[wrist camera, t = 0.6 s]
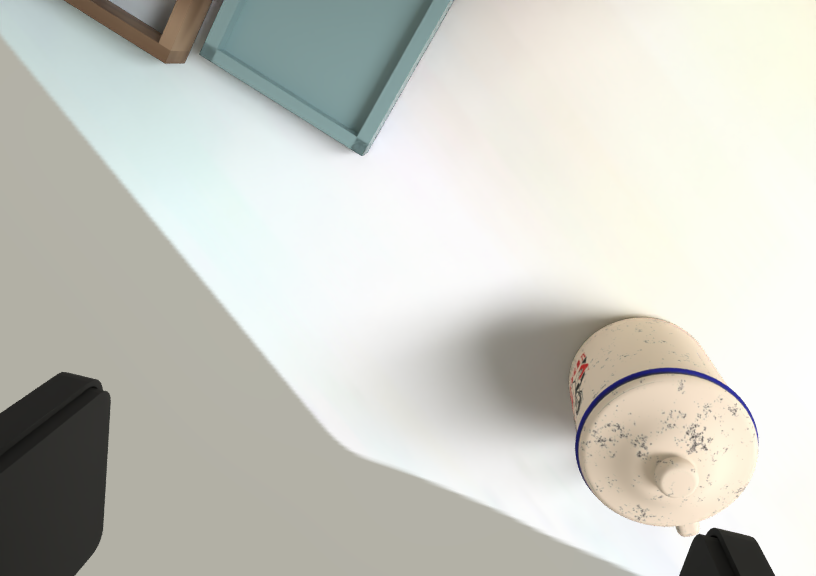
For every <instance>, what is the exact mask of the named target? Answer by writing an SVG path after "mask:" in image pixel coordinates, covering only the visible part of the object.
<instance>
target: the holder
mask: <svg viewBox="0 0 816 576" xmlns="http://www.w3.org/2000/svg"><path fill="white" fill-rule="evenodd" d="M64 1H66V2H67V3H69V4H70V5H72V6H74V7H75V8H77V9H79V10H80V11H82V12H83V13H85V14H87V15H88V16H90V17H91V18H93V19H95V20H96V21H98V22H99V23H101V24H103V25H104V26H106V27H107V28H109V29H111V30H112V31H114V32H115V33H117V34H119V35H120V36H122V37H123V38H125V39H127V40H128V41H130V42H131V43H133V44H135V45H136V46H138V47H139V48H141V49H143V50H144V51H146V52H147V53H149V54H151V55H152V56H154V57H155V58H157V59H159V60H160V61H162V62H163V63H165V64H170V63H185V61H186V59H187V57H188V54H189V52H190V50H191V48H192V45H193V43H194V41H195V39H196V36H197V34H198V32H199V30H200V28H201V25H202V23H203V21H204V19H205V16H206V14H207V12H208V10H209V7H210V5H211V3H212V1H213V0H177V1H176V3H175V6H174V8H173V10H172V13H171V15H170V17H169V20H168V22H167V24H166V27H165V29H164V31H163V34H161V33H160V32H158V31H156V30H155V29H153V28H152V27H150V26H148V25H147V24H145V23H144V22H142V21H140V20H139V19H137V18H136V17H134V16H133V15H131V14H129V13H128V12H126V11H125V10H123V9H121V8H120V7H118V6H117V5H115V4H113V3H112V2H110V1H109V0H64Z"/></svg>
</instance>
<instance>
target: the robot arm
mask: <svg viewBox="0 0 816 576" xmlns="http://www.w3.org/2000/svg"><path fill="white" fill-rule="evenodd" d="M110 401H111V400H110V395H109V393H108V392H107V391H103V389H102V385H101V383H100V381H99V380H96V379H92V378H88V377H84V376H80V375H76V374H71V373H67V372H61V373H59V374H57V375H56V376H54V377H53V378H51V379H50V380H48V381H47V382H46V383H44V384H43V385H41V386H40V387H38V388H37V389H35V390H34V391H32V392H31V393H29V394H28V395H26V396H25V397H23V398H22V399H21V400H19V401H18V402H16V403H15V404H13V405H12V406H10V407H9V408H7V409H6V410H5V411H3V412H1V413H0V576H74V575H76V573H77V572H78V571H79V570H80V568H81V567H82V566H83V565H84V564H85V563H86V562H87V560H88V559H89V558H90V557H91V556H92V554H93V553H94V552H95V550H96V548H97V546H98V544H99V542H100V539H101V536H102V531H103V520H104V519H103V518H104V504H105V487H106V471H107V454H108V436H109V420H110V403H111V402H110ZM679 576H775V575H774V573H773V571H772V569H771V567H770V565H769V563H768V561H767V560H766V558H765V556H764V554H763V552H762V550H761V548H760V546H759V545H758V543H757V541H756V540H755V539H754V538H753V537H751V536H747V535H743V534H739V533H735V532H730V531H726V530H722V529H718V528H712V529H710V530H709V531H708V532H707V534H706V535H701V534H698V535H696V537H695V538H694V539H693V541H692V544H691V546H690V549H689V552H688V554H687V557H686V559H685V562H684V565H683V567H682V570H681V572H680V575H679Z"/></svg>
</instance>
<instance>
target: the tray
mask: <svg viewBox="0 0 816 576" xmlns="http://www.w3.org/2000/svg"><path fill="white" fill-rule="evenodd" d="M453 1H454V0H224V1H223V3H222V5H221V7H220V10H219V12H218V14H217V16H216V18H215V21H214V23H213V25H212V27H211V30H210V32H209V34H208V36H207V38H206V41H205V43H204V45H203V47H202V49H201V52H200V54H199V55H201V56H203V57H204V58H206V59H207V60H209V61H211V62H212V63H214V64H215V65H217V66H219V67H220V68H222V69H223V70H225V71H227V72H228V73H230V74H231V75H233V76H235V77H236V78H238V79H239V80H241V81H243V82H244V83H246V84H247V85H249V86H251V87H252V88H254V89H255V90H257V91H259V92H260V93H262V94H263V95H265V96H267V97H268V98H270V99H271V100H273V101H275V102H276V103H278V104H279V105H281V106H283V107H284V108H286V109H287V110H289V111H291V112H292V113H294V114H295V115H297V116H299V117H300V118H302V119H303V120H305V121H307V122H308V123H310V124H311V125H313V126H315V127H316V128H318V129H319V130H321V131H322V132H324V133H326V134H327V135H329V136H330V137H332V138H334V139H335V140H337V141H338V142H340V143H342V144H343V145H345V146H346V147H348V148H350V149H351V150H353V151H354V152H356V153H358V154H359V155H361V156H363V155H365V154H366V153H368V151H369V149H370V147H371V145H372V144H373V142H374V140H375V138H376V137H377V135H378V133H379V131H380V130H381V128H382V126H383V124H384V123H385V121H386V119H387V117H388V116H389V114H390V112H391V110H392V109H393V107H394V105H395V103H396V102H397V100H398V98H399V96H400V95H401V93H402V91H403V89H404V88H405V86H406V84H407V82H408V80H409V79H410V77H411V75H412V73H413V72H414V70H415V68H416V66H417V65H418V63H419V61H420V59H421V58H422V56H423V54H424V52H425V51H426V49H427V47H428V45H429V44H430V42H431V40H432V38H433V37H434V35H435V33H436V31H437V30H438V28H439V26H440V24H441V23H442V21H443V19H444V17H445V16H446V14H447V12H448V10H449V8H450V7H451V5H452V3H453Z"/></svg>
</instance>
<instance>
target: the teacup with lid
mask: <svg viewBox="0 0 816 576" xmlns="http://www.w3.org/2000/svg"><path fill="white" fill-rule="evenodd" d="M569 391H570V397H571V403H572V409H573V415H574V421H575V426H576V432H577V434H576V442H575V453H576V460H577V464H578V468H579V471H580V473H581V475H582V478H583V479H584V481H585V483H586V485H587V486H588V487H589V489H590V490H591V491H592V493H593V494H594V495H595V496H596V497H597V498H598V499H599V500H600V501H601V502H602V503H603V504H604V505H606V506H607V507H608V508H609V509H611V510H613V511H614V512H616V513H617V514H619V515H621V516H623V517H625V518H628V519H630V520H633V521H636V522H639V523H643V524H647V525H653V526H664V527H668V526H676V529H677V532H678V533H679V534H680V535H681V536H683V537H688V536H693V535H696V534H698V532H699V530H700V526H699V521H702V520H705V519H707V518H709V517H712V516H714V515H715V514H717V513H719V512H721V511H722V510H724V509H725V508H727V507H728V506H729V505H730V504H731V503H733V502H734V501H735V500H736V499H737V498H738V497H739V495H740V494H741V493H742V492H743V491H744V489H745V488H746V486H747V485H748V483H749V481H750V479H751V477H752V475H753V473H754V470H755V467H756V463H757V458H758V443H759V442H758V433H757V428H756V425H755V422H754V419H753V417H752V415H751V413H750V411H749V409H748V408H747V406H746V404H745V403H744V402H743V401H742V399H741V398H740V397H739V396H738V395H737V394H736V393H735V392H734V391H733V390H732V389H730V388H729V387H728V386H727V385H726V383H725V382H724V380H723V379H722V377H721V376H720V374H719V373H718V371H717V370H716V368H715V366H714V365H713V363H712V362H711V360H710V359H709V357H708V356H707V354H706V353H705V351H704V350H703V348H702V347H701V345H700V344H699V343H698V342H697V341H696V340H695V339H694V338H693V337H692V336H691V335H690V334H689V333H688V332H686V331H685V330H683V329H682V328H680V327H678V326H676V325H674V324H672V323H670V322H667V321H664V320H660V319H655V318H630V319H624V320H620V321H617V322H614V323H612V324H609V325H607V326H605V327H603V328H601V329H600V330H598V331H597V332H595V333H594V334H593V335H592V336H590V337H589V338H588V339H587V340H586V341H585V342H584V344H583V345H582V346H581V347H580V349H579V350H578V352H577V354H576V355H575V357H574V360H573V362H572V365H571V369H570V374H569Z"/></svg>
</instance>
